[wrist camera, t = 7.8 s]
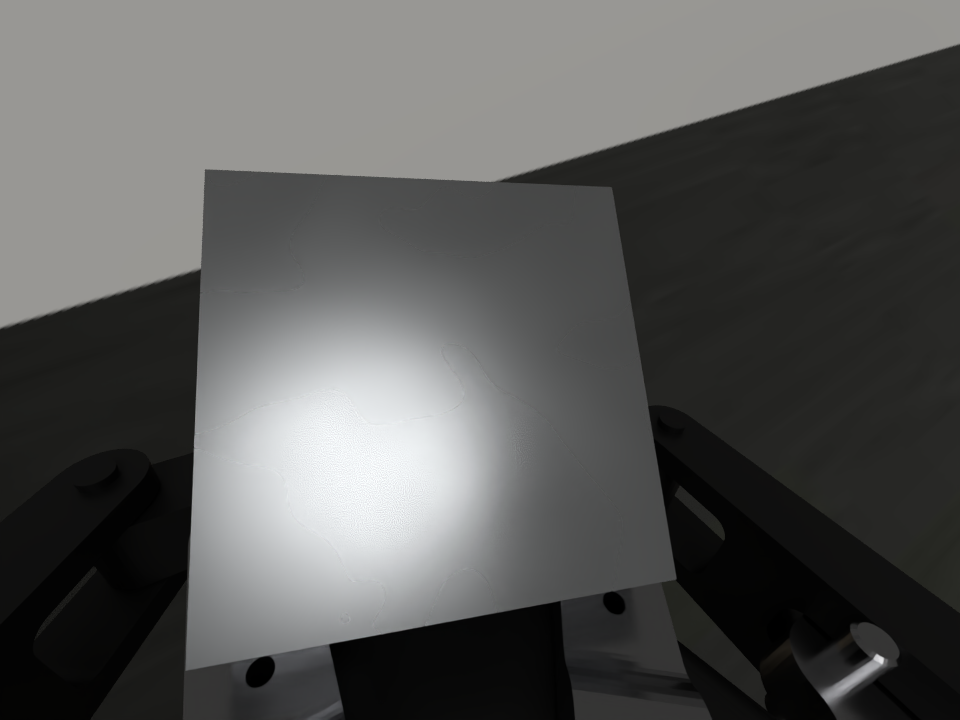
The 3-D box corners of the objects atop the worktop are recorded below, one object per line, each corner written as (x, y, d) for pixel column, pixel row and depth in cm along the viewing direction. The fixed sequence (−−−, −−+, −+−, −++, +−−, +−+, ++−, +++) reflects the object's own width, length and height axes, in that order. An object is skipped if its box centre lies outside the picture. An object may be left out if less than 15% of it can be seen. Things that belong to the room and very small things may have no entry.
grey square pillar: (355, 487, 17) (184, 670, 3) (352, 381, 17) (205, 169, 4) (462, 476, 18) (676, 579, 4) (454, 375, 18) (612, 187, 5)
